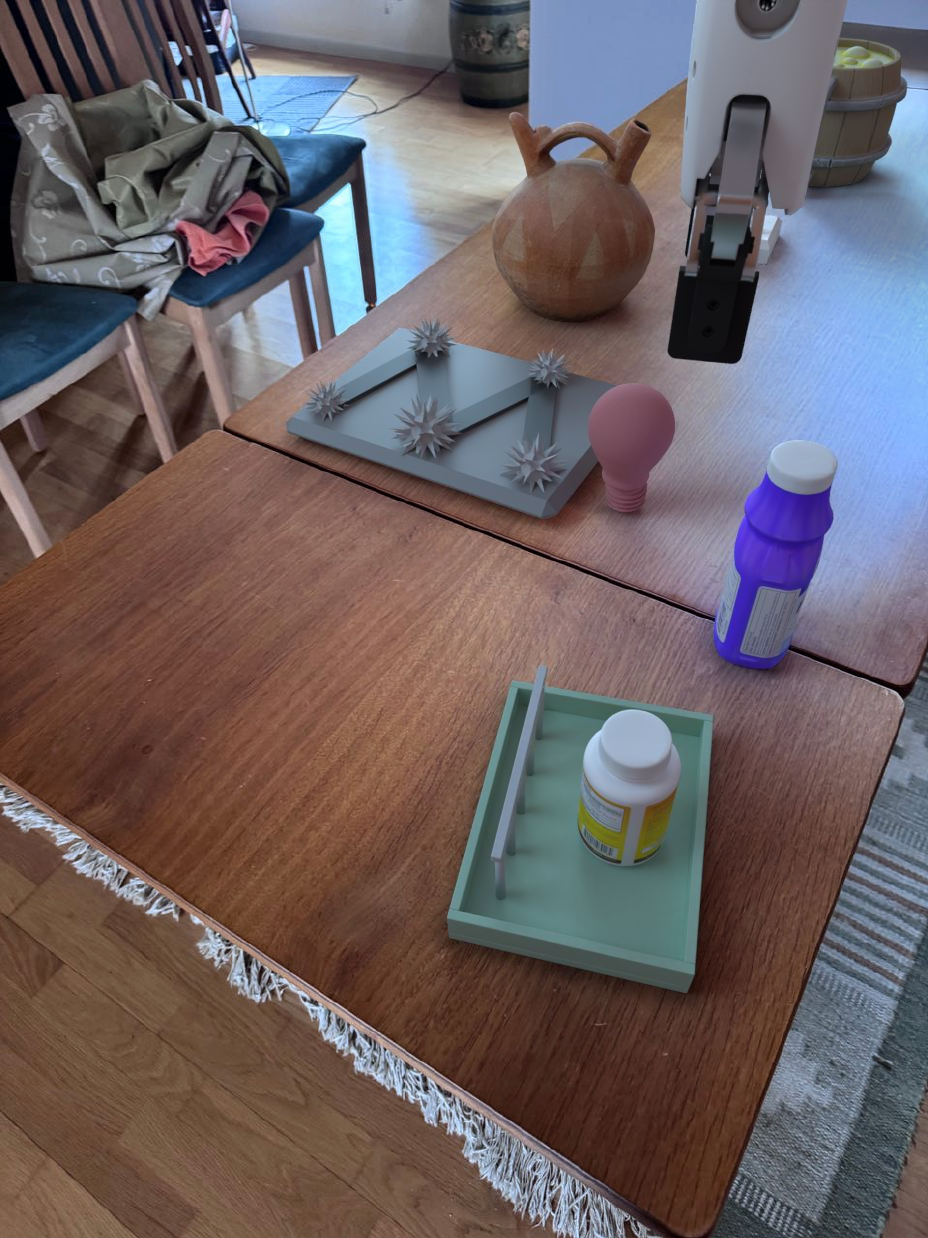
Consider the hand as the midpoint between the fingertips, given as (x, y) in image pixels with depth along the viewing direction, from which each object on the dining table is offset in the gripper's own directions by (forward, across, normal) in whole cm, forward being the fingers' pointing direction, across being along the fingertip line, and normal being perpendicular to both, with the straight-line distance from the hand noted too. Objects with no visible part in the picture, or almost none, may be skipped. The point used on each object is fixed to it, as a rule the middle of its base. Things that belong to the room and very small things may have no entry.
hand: (709, 305), depth 42 cm
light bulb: (+31, +21, +4) cm, 37 cm away
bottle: (+31, +7, -8) cm, 32 cm away
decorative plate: (+31, +31, +21) cm, 48 cm away
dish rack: (+30, -12, +2) cm, 33 cm away
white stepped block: (+31, +76, -6) cm, 82 cm away
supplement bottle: (+30, -12, 0) cm, 32 cm away
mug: (+31, +101, -14) cm, 107 cm away
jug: (+31, +58, +15) cm, 67 cm away
